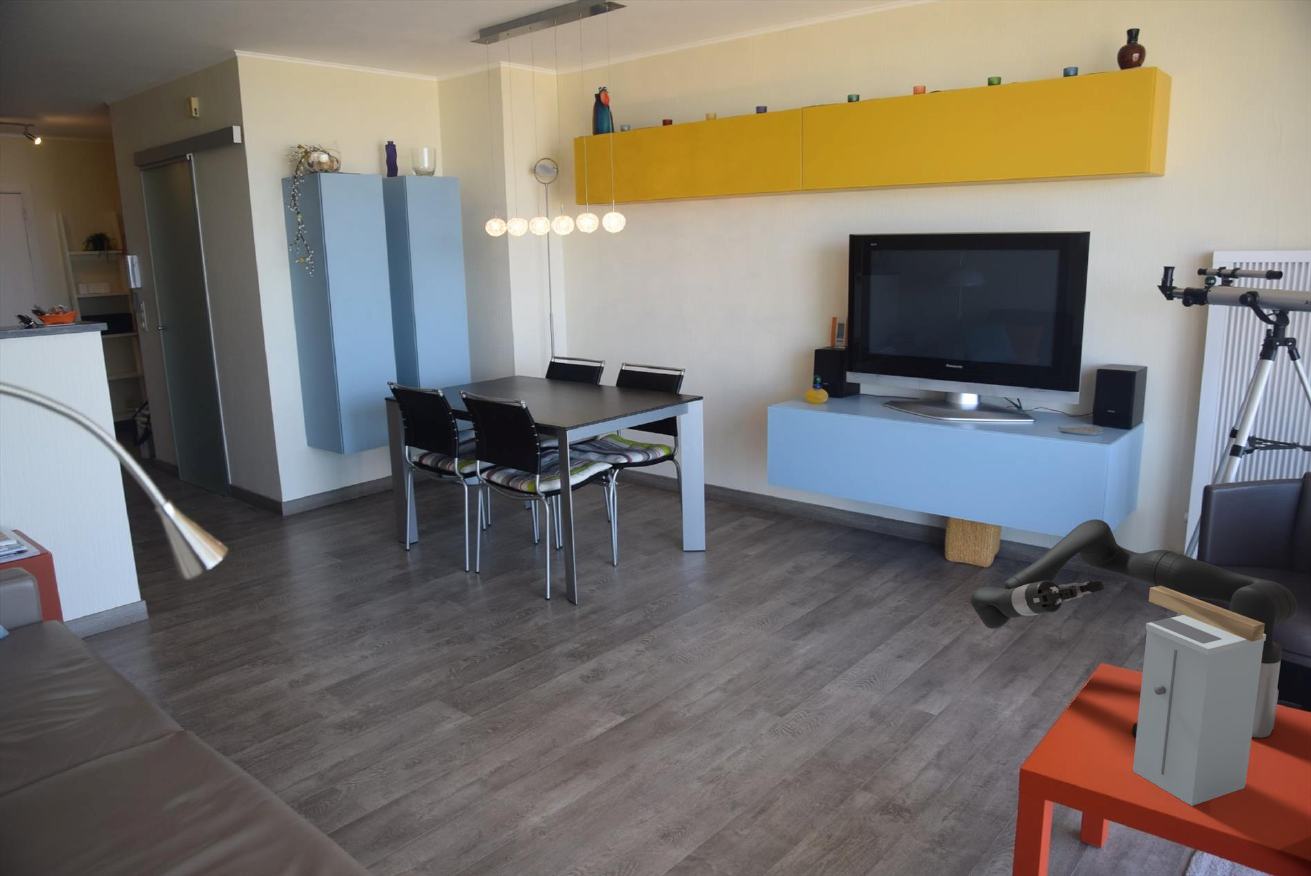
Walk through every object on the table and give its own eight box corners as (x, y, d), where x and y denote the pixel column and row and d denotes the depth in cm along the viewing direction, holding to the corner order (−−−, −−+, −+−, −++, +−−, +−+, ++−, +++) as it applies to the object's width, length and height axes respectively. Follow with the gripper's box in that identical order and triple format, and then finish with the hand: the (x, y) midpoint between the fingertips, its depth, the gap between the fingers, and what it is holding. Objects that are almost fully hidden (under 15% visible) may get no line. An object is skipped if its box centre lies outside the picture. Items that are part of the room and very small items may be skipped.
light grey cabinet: (1186, 754, 191) (1202, 610, 184) (1246, 787, 179) (1266, 634, 173) (1128, 772, 185) (1143, 623, 178) (1187, 807, 173) (1205, 649, 166)
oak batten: (1158, 599, 191) (1160, 585, 190) (1262, 638, 171) (1264, 623, 170) (1148, 601, 190) (1150, 587, 189) (1252, 641, 170) (1253, 626, 169)
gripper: (1062, 608, 221) (1116, 599, 207) (1019, 620, 215) (1071, 611, 201) (1052, 577, 223) (1105, 566, 208) (1009, 588, 217) (1059, 578, 203)
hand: (1088, 588), depth 205 cm, fingers open, 8 cm apart
